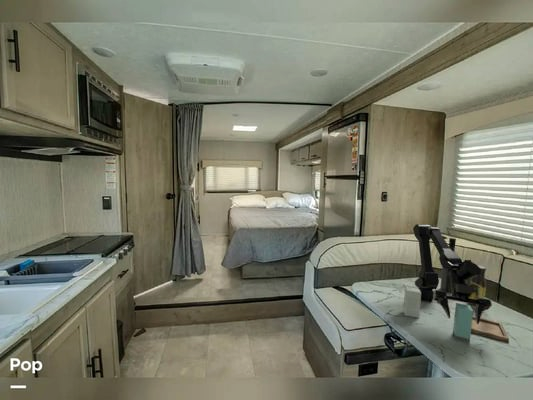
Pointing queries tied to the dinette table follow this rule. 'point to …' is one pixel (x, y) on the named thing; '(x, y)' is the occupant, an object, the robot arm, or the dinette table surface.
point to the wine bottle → (447, 270)
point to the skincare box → (412, 302)
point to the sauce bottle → (479, 284)
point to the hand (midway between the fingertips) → (463, 320)
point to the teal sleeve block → (462, 322)
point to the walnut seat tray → (489, 329)
